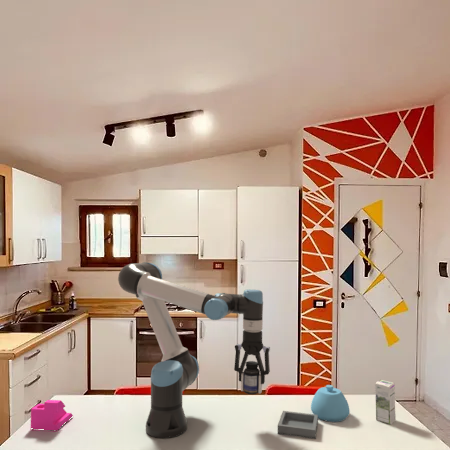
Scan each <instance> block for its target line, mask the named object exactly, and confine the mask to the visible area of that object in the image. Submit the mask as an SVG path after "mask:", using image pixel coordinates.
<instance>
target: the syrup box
mask: <svg viewBox="0 0 450 450" xmlns="http://www.w3.org/2000/svg"><path fill="white" fill-rule="evenodd" d="M374 386H375V387H374V389H375V390H374V391H375V392H374V393H375V420H376V421H378V422H381V423H384V424H387V425H392V424H393V423H394V422H396V390H395V389H396V384H395V382H392V381H388V380H383V379H379V380H377V381H376V382H375V384H374Z"/></svg>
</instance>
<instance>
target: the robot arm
mask: <svg viewBox="0 0 450 450" xmlns="http://www.w3.org/2000/svg"><path fill="white" fill-rule="evenodd" d="M117 281H118V284H119V287H120V288H121V289H122V290H123V291H125V292H127V293H130V294H132V295H135V297H136V299H137V300H139V301H141V302H142V305H143V307H144V309H145V311H146V314H147V318H148V320H149V322H150V325H151V327H152V330H153V332H154V335H155V338H156V340H157V343H158V346H159V348H160V351H161V354H162V358H161V361H159V362H157V363H155V364H154V365H153V367H152V369H151V375H150V411H149V414H148V416H147V419H146V423H145V432H146V434H147V435H149V436H151V437H154V438H157V439H158V438H159V439H169V438H174V437H178V436H180V435H182V434H184V433H185V432H186V431H187V429H188V428H187V427H188V420H187V418H186V414H185V410H184V408H183V392H184V391H185V390H186V389H187V388H188V387H189V386H191V385H192V384H193V383H194V382H195V381H196V379H197V378H198V375H199V374H200V365H199V362H198V359H197V358H196V357H195V356H193V355H191V354H190V351H189V349H188V348H187V347H184V346H183V344H182V341H181V339H180V337H179V334H178V331H177V329H176V326H175V324H174V321H173V319H172V317H171V315H170V312H169V309H168V306H167V305H166V303H169V304H172V305H175V306H178V307H181V308H184V309H187V310H191V311H193V312H197V313H200V314H203V315H205V316H206V318H208V319H209V320H212V321H219V320H221V319H224V318H225V317H227V316H228V315H230V314H239V315H243V316H242V329H243V330H242V342H241V343H236V344H235V345H234V348H235V349H234V350H235V357H234V367H233V370H234V371H235V372H238V381H239V382H240V391H241V392H244V370H245V367H246V362H248V361H247V360H248V358H249V356H250V355H251V356H253V357H254V356H255V360H256V362H257V363H258V369H259V371H260V375H259V393H258V394H259V395H260V394H261V393H262V391H263V385H264V384H265V382H266V380H265V379H266V377H265V376H266V375H267V376H268V375H269V374H270V372H271V370H270V354H269V353H270V352H271V347H270V346H264V344H263V343H264V342H263V331H262V330H263V322H264V321H263V315H264V314H263V312H264V311H263V310H264V297H263V295H264V294H263V291H261V290H260V289H245V290H243V293H242V294H235V293H226V292H222V293H219V292H218V293H215V294H214V295H213V294H209V293H207V292H203V291H200V290H198V289H195V288H191V287H187V286H185V285H181V284H177V283H175V282H172V281H168V280H165V279H163V273H162V271H161V269H160V267H158V265H156V264H154V263H151V262H145V261H144V262H138V263H136V262H135V263H129V264H126V265H125V266H123V267H122V268H121V270H120V271H119V273H118V278H117ZM242 349H243V351H244V354H243V357H242V361H241V363H240V358H241V357H240V356H241V350H242ZM262 350H263V353H264V364H263V361H262V357H261V351H262Z"/></svg>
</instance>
